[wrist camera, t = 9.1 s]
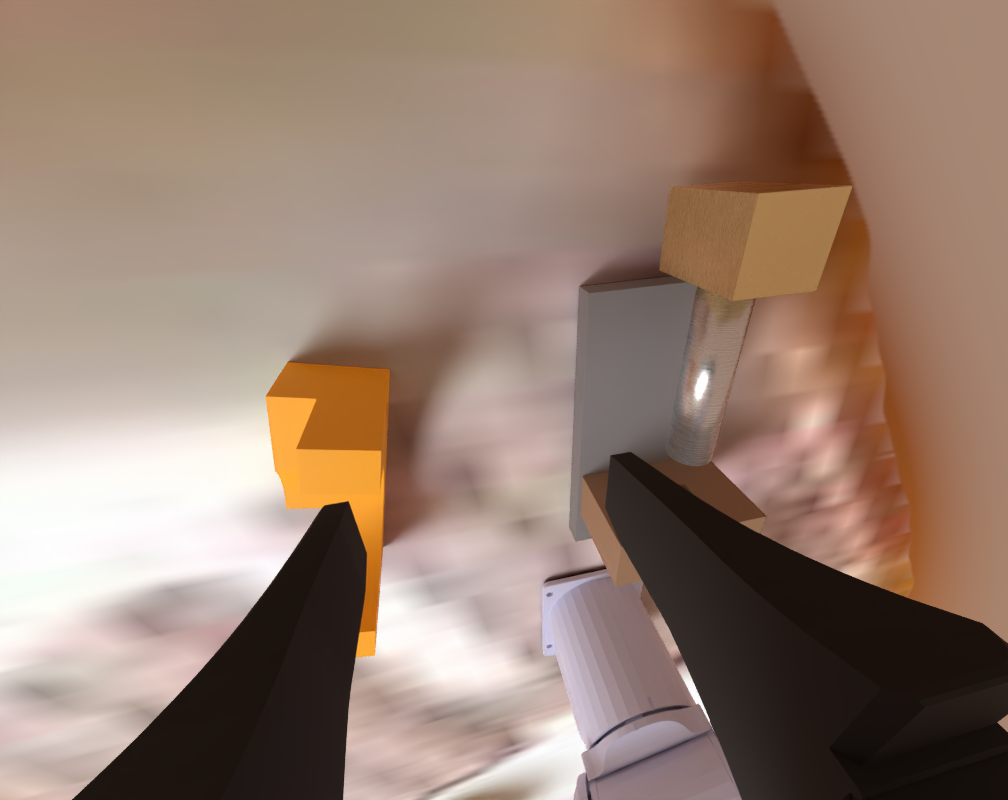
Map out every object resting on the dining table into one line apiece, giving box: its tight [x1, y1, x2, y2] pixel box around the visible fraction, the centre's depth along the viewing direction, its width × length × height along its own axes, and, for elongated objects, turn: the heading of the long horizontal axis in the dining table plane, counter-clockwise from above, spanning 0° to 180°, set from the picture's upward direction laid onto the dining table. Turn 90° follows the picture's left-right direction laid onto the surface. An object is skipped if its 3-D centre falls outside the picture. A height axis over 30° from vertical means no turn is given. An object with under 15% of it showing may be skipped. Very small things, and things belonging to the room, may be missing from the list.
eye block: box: [569, 276, 767, 587], centre depth 20 cm, size 16×8×6 cm, turn 3°
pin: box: [659, 181, 852, 466], centre depth 16 cm, size 11×3×4 cm, turn 3°
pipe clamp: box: [266, 362, 390, 657], centre depth 18 cm, size 12×4×6 cm, turn 170°
